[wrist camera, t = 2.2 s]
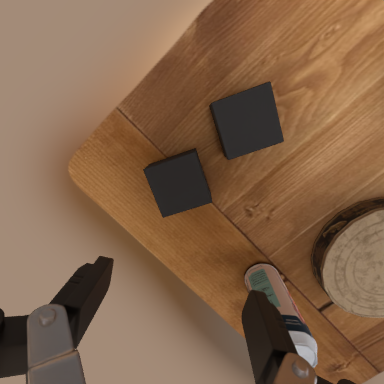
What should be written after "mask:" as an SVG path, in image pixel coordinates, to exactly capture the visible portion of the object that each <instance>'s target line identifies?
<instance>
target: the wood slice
mask: <svg viewBox="0 0 384 384" xmlns="http://www.w3.org/2000/svg"><path fill="white" fill-rule="evenodd" d="M311 261H312V268H313V274H314V275H315V277H316V279H317V280H318V282H319V284H320V285H321V287H322V288H323V289H324V291H325V292H326V293H327V295H328V296H329V297H330V299H331V300H332V301H333V302H334V303H335V304H337V305H338V306H339V307H341V308H342V309H343V310H344V311H346V312H349V313H352V314H355V315H358V316H361V317H373V318H383V317H384V198H375V199H371V200H367V201H363V202H358V203H356V204H354V205H352V206H351V207H349V208H347V209H345V210H343V211H341V212H339V213H338V214H337V215H336V216H335V217H334V218H333V219H332V220H330V221H329V222H328V223H327V224H326V225H325V226H324V227H323V229H322V231H321V232H320V234H319V236H318V237H317V239H316V241H315V243H314V247H313V252H312V256H311Z"/></svg>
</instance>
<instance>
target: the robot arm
mask: <svg viewBox="0 0 384 384" xmlns="http://www.w3.org/2000/svg"><path fill="white" fill-rule="evenodd" d="M113 261H114V260H113V259H112V258H108V257H103V256H99V257H98V259H97V260H96V261H95V263H94V264H89V263H86V264H85V265H83V266H81V267H80V268H78V270H77V271H76V272H75V273H74V274H73V276H72V277H71V278H70V279H69V281H68V282H67V283H66V284H65V285H64V286H63V288H62V289H61V290H60V291H59V292H58V294H57V295H56V296H55V297H54V298H53V300H52V301H51V302H50V303H49V304H48V305H44V306H41V307H39V308H37V309H36V310H34V311H33V312H32V313H31V314H30V315H25V316H14V317H13V316H12V317H4V312H3V310H2V309H0V378H3V377H10V376H16V375H23V374H26V384H86V383H85V378H84V373H83V369H82V364H81V360H80V356H79V352H78V350H75V349H76V348H77V346H78V344H79V343H80V341H81V339H82V337H83V335H84V333H85V331H86V330H87V328H88V326H89V324H90V322H91V320H92V319H93V317H94V315H95V313H96V311H97V309H98V308H99V306H100V304H101V302H102V300H103V298H104V297H105V295H106V293H107V291H108V288H109V285H110V281H111V274H112V268H113ZM242 324H243V329H244V333H245V338H246V342H247V346H248V351H249V356H250V360H251V365H252V369H253V374H254V378H255V383H256V384H332V383H331V382H329V381H327V380H325V379H323V378H321V377H319V376H317V375H316V373H315V370H314V369H313V367H312V366H311V365H310V363H309V362H308V361H307V360H306V359H304V358H303V357H301V356H300V355H299V354H298V352H297V350H296V347H295V345H294V343H293V341H292V338H291V336H290V334H289V331H288V329H287V327H286V325H285V322H284V320H283V318H282V315H281V313H280V311H279V310H278V309H277V308H276V306H275V305H274V304H272V303H269V300H268V298H267V295H266V293H265V292H262V291H257V290H250V292H249V295H248V298H247V300H246V303H245V305H244V308H243V311H242ZM337 384H355V383H354V382H352V381H350V380H347V379H341V380H339V381H338V383H337Z"/></svg>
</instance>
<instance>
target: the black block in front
mask: <svg viewBox="0 0 384 384" xmlns="http://www.w3.org/2000/svg"><path fill="white" fill-rule="evenodd" d="M143 170H144V173H145V175H146V178H147V180H148V183H149V185H150V188H151V190H152V192H153V195H154V197H155V200H156V202H157V205H158V207H159V209H160V212H161V214H162V217H163V218H164V217H167V216H170V215H173V214H176V213H180V212H183V211H186V210H189V209H192V208H196V207H199V206H202V205H205V204H208V203H212V198H211V193H210V190H209V187H208V184H207V181H206V178H205V175H204V172H203V169H202V166H201V163H200V160H199V157H198V154H197V151H196V148H195V149H192V150H189V151H186V152H183V153H180V154H177V155H175V156H172V157H169V158H166V159H163V160H160V161H157V162H154V163H151V164H149V165H148V166H147V167H146V168H145V169H143Z"/></svg>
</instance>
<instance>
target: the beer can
mask: <svg viewBox="0 0 384 384" xmlns="http://www.w3.org/2000/svg"><path fill="white" fill-rule="evenodd" d="M245 284H246V286H247V290H248V293H249V292H250V290H257V291H262V292H265V293H266V295H267V298H268V300H269V303H272V304H274V305H275V306H276V308H277V309H278V310H279V311H280V313H281V315H282V318H283V320H284V322H285V325H286V327H287V329H288V331H289V334H290V336H291V338H292V341H293V343H294V345H295V347H296V350H297V352H298V354H299V355H300V356H301V357H303V358H304V359H306V360H307V361H308V362H309V363H310V365H311V366H312V367H313V368H314V367H315V366H316V365H317V344H316V342H315V340H314V338H313V336H312V334H311V332H310V330H309V329H308V327H307V325H306V323H305V321H304V319H303V317H302V316H301V314H300V312H299V310H298V308H297V306H296V304H295V303H294V301H293V299H292V297H291V295H290V293H289V292H288V290H287V288H286V286H285V284H284V282H283V280H282V279H281V277H280V275H279V273H278V271H277V270H276V269H275V268H274V267H273V266H271V265H268V264H257V265H255V266H253V267H251V268H250V269H249V270H248V271H247V272H246V274H245Z"/></svg>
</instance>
